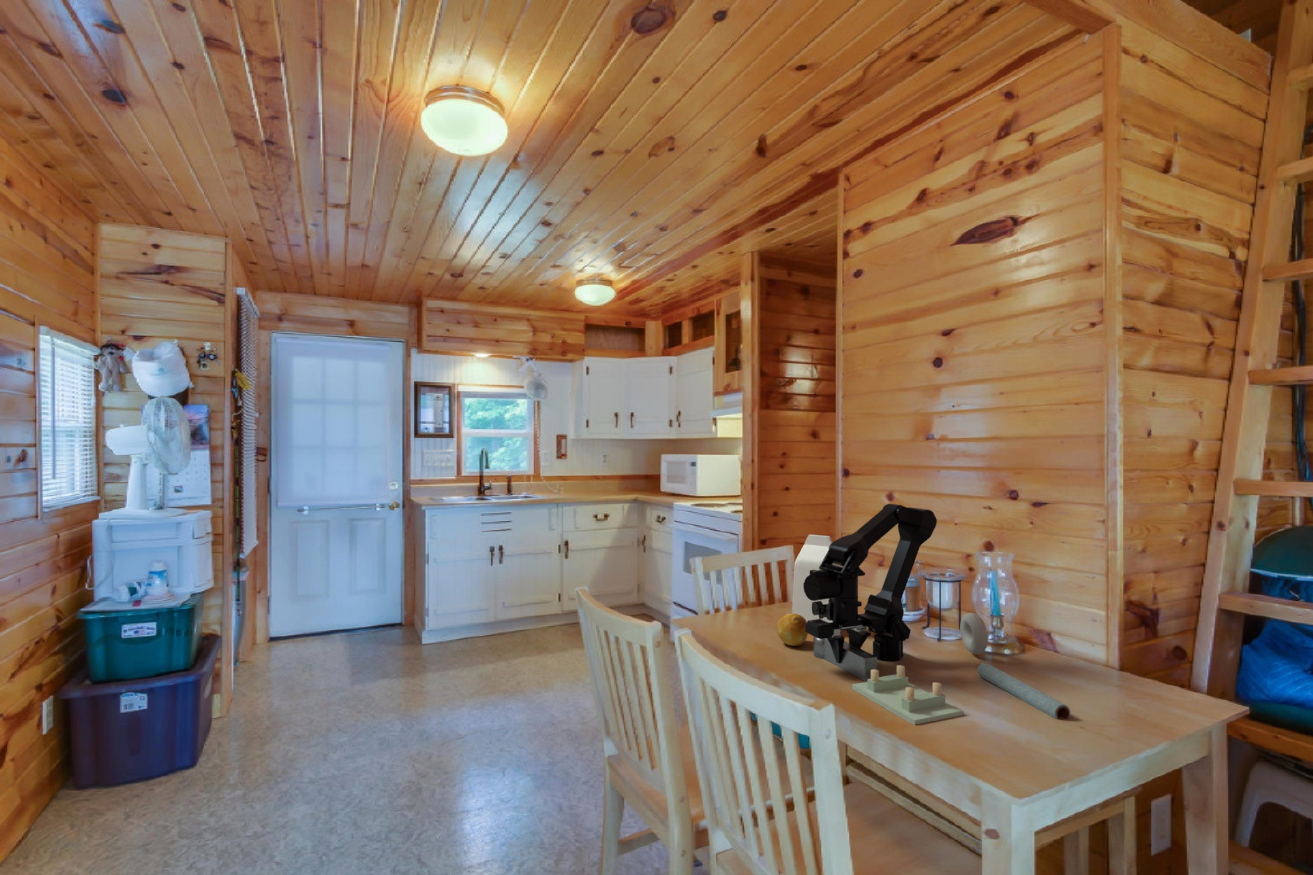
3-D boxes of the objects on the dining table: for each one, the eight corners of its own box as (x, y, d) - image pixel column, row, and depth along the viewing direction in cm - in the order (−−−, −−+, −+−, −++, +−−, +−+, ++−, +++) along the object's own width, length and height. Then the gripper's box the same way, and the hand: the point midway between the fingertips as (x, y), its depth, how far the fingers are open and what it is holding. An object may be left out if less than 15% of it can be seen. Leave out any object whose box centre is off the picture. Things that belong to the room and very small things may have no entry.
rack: (897, 681, 137) (897, 658, 137) (963, 715, 121) (963, 689, 121) (852, 688, 133) (852, 665, 133) (914, 725, 116) (914, 698, 116)
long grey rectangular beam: (827, 650, 157) (827, 630, 157) (880, 678, 139) (880, 656, 139) (809, 652, 155) (809, 632, 155) (860, 681, 137) (861, 659, 137)
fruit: (812, 650, 158) (812, 618, 158) (779, 649, 158) (779, 618, 158) (804, 639, 166) (805, 609, 166) (774, 639, 166) (774, 609, 166)
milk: (790, 628, 175) (791, 536, 175) (806, 618, 184) (806, 531, 184) (832, 636, 168) (833, 540, 168) (846, 626, 178) (846, 534, 178)
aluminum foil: (977, 677, 141) (976, 662, 141) (1003, 676, 142) (1003, 661, 142) (1055, 723, 118) (1055, 705, 118) (1086, 720, 119) (1086, 703, 119)
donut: (957, 646, 160) (957, 607, 160) (971, 646, 160) (971, 607, 160) (976, 660, 150) (976, 619, 150) (990, 660, 150) (990, 619, 150)
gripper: (855, 584, 157) (855, 646, 157) (792, 591, 151) (791, 655, 151) (886, 595, 147) (886, 661, 147) (819, 602, 140) (819, 671, 140)
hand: (845, 661), depth 146 cm, fingers closed on long grey rectangular beam, 3 cm apart
